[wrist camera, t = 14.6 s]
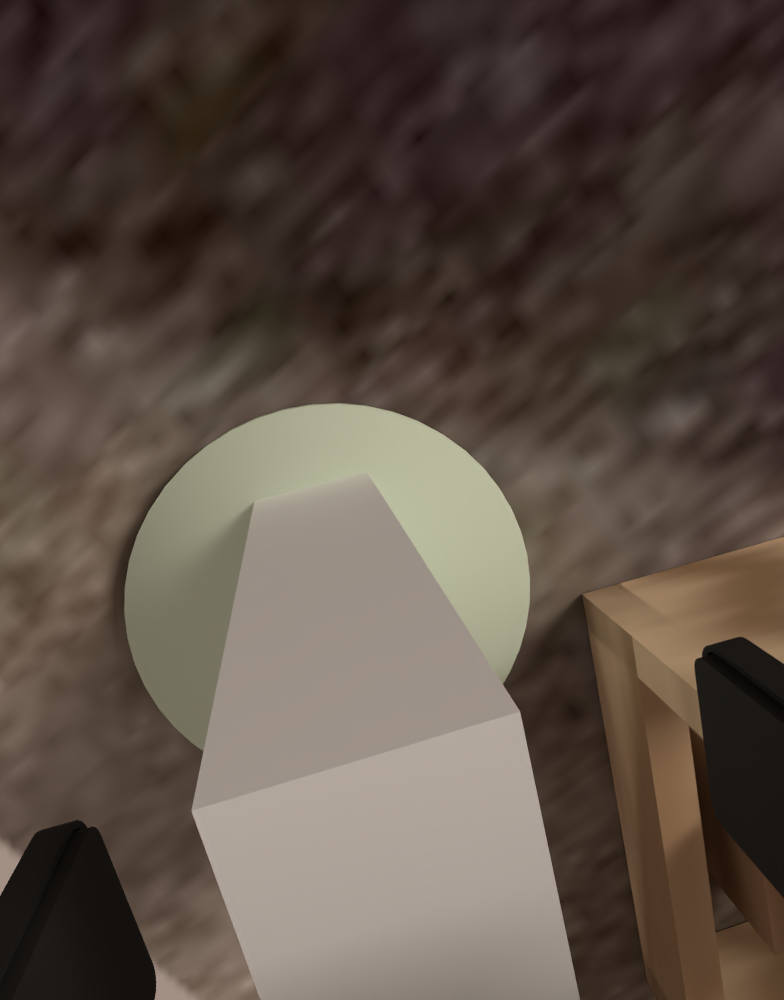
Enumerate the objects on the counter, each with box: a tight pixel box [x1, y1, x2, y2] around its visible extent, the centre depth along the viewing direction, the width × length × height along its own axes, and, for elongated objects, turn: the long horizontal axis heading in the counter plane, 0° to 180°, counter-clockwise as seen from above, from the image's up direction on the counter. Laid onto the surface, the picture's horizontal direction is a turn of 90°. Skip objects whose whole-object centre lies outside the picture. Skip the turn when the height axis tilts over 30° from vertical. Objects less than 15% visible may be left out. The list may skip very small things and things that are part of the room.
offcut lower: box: [689, 726, 784, 956], centre depth 21 cm, size 4×6×4 cm, turn 16°
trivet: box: [124, 403, 530, 751], centre depth 19 cm, size 11×11×1 cm
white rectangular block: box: [191, 472, 580, 1000], centre depth 13 cm, size 3×7×12 cm, turn 13°
